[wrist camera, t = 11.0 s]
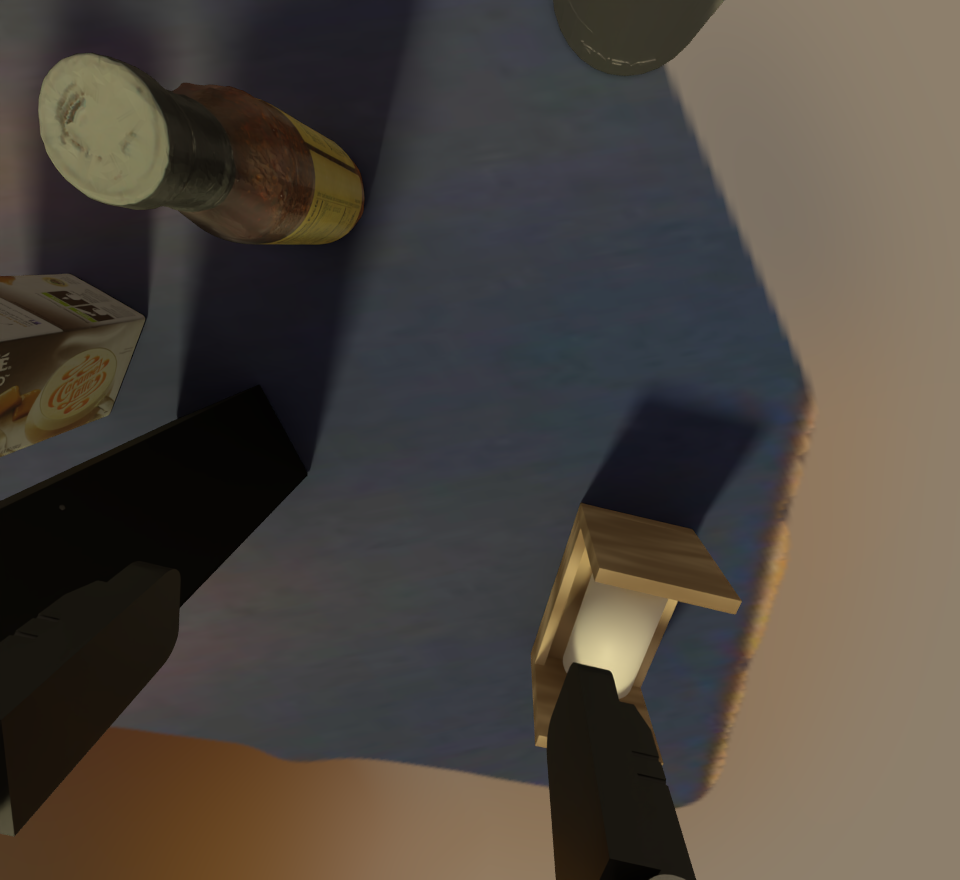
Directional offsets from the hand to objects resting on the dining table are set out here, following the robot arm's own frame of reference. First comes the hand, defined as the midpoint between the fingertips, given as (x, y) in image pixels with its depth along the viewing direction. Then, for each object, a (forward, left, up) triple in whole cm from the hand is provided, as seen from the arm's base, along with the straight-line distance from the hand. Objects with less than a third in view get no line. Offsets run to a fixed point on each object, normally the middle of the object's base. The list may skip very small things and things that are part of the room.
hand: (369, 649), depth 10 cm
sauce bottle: (-9, -12, -28) cm, 32 cm away
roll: (+16, +15, -27) cm, 35 cm away
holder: (+16, +15, -28) cm, 35 cm away
